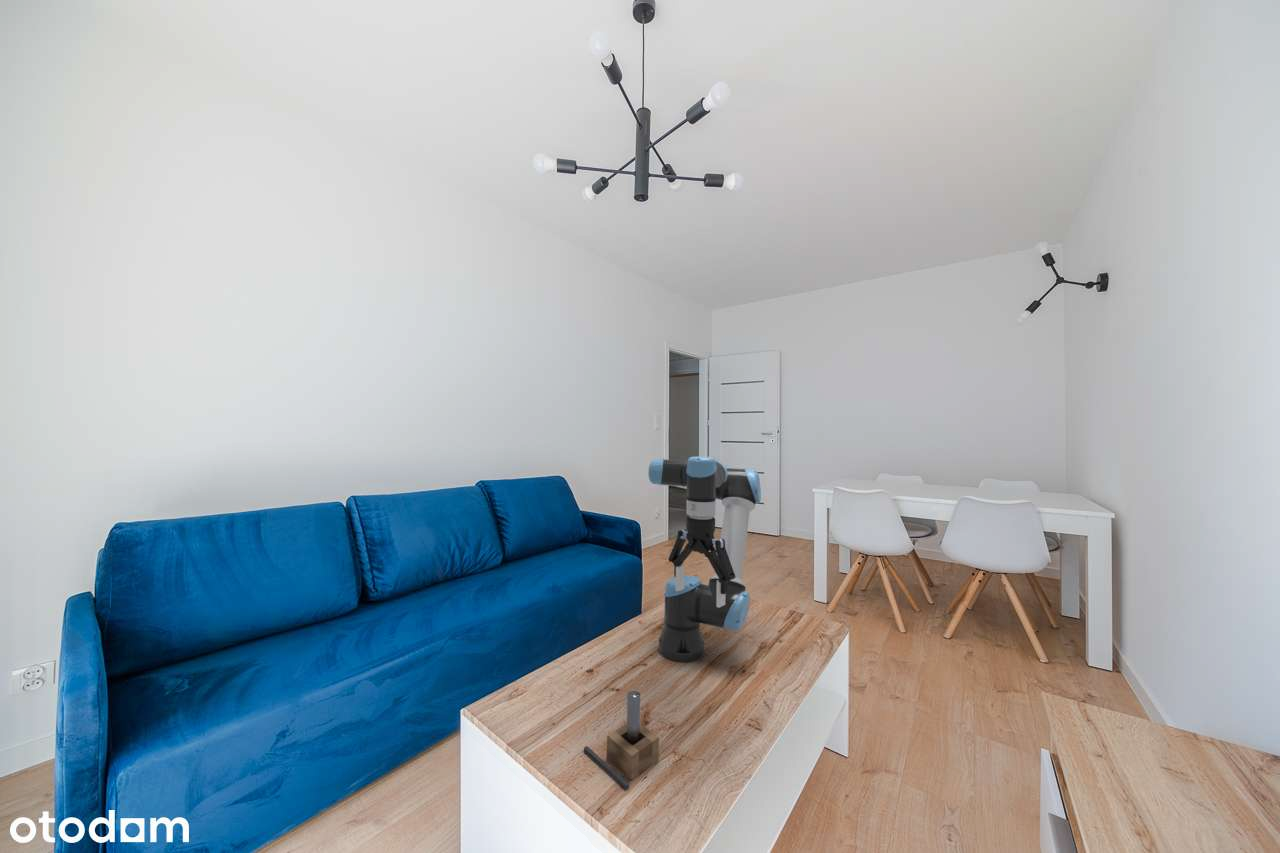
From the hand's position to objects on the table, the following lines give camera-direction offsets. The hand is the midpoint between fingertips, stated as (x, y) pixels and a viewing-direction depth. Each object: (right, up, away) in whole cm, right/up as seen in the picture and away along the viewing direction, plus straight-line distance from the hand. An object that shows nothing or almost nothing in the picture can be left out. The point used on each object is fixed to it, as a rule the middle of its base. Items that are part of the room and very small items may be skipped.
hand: (699, 597), depth 113 cm
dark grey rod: (-23, -28, -22) cm, 42 cm away
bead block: (-17, -28, -19) cm, 38 cm away
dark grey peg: (-17, -28, -19) cm, 38 cm away
